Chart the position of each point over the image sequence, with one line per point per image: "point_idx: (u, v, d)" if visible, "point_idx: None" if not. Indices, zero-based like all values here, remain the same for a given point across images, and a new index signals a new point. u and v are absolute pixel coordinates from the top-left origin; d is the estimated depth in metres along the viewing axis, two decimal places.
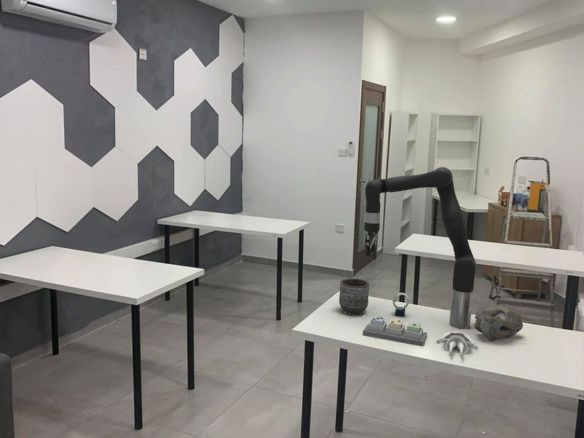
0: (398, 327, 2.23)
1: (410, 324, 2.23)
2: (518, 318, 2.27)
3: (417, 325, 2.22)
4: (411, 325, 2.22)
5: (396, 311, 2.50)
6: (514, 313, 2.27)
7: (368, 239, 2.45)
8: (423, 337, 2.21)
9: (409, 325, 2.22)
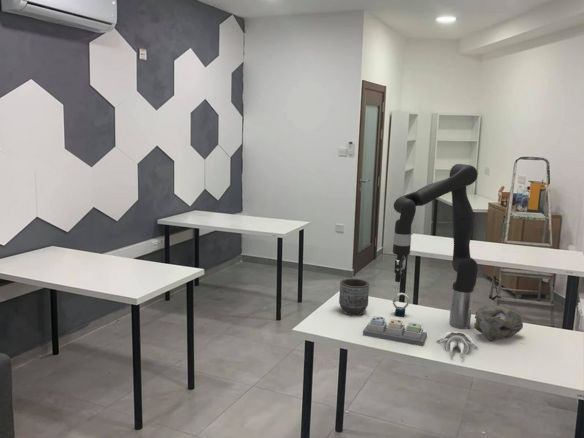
0: (398, 327, 2.23)
1: (410, 324, 2.23)
2: (517, 318, 2.27)
3: (417, 325, 2.22)
4: (411, 325, 2.22)
5: (396, 311, 2.50)
6: (514, 313, 2.27)
7: (398, 265, 2.22)
8: (423, 337, 2.21)
9: (409, 325, 2.22)
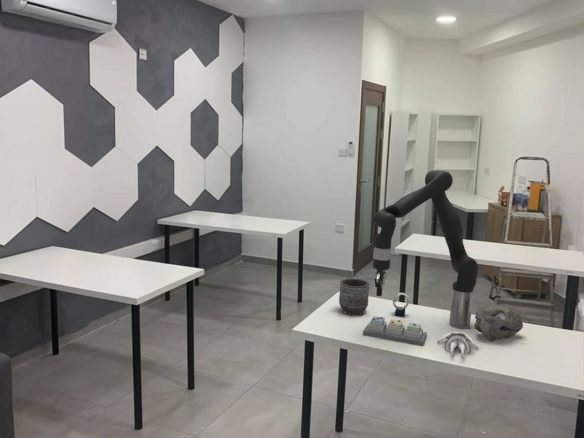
0: (398, 327, 2.23)
1: (410, 324, 2.23)
2: (518, 318, 2.27)
3: (417, 325, 2.22)
4: (411, 325, 2.22)
5: (396, 311, 2.50)
6: (514, 313, 2.27)
7: (378, 282, 2.21)
8: (423, 337, 2.21)
9: (409, 325, 2.22)
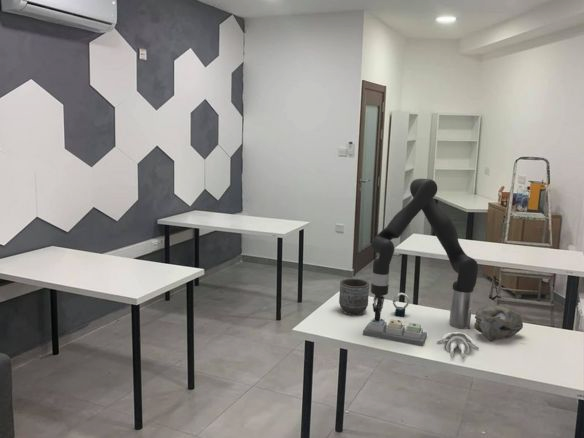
0: (398, 327, 2.23)
1: (410, 324, 2.23)
2: (517, 318, 2.27)
3: (417, 325, 2.22)
4: (411, 325, 2.22)
5: (396, 311, 2.50)
6: (514, 313, 2.27)
7: (376, 307, 2.23)
8: (423, 337, 2.21)
9: (409, 325, 2.22)
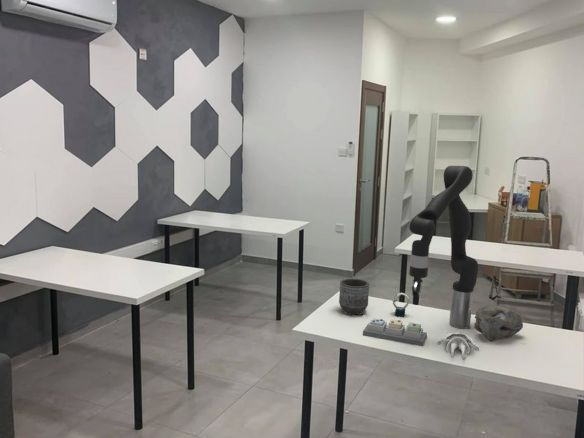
0: (398, 327, 2.23)
1: (410, 324, 2.23)
2: (518, 318, 2.27)
3: (417, 325, 2.22)
4: (411, 325, 2.22)
5: (396, 311, 2.50)
6: (514, 313, 2.27)
7: (415, 291, 2.15)
8: (423, 337, 2.21)
9: (409, 325, 2.22)
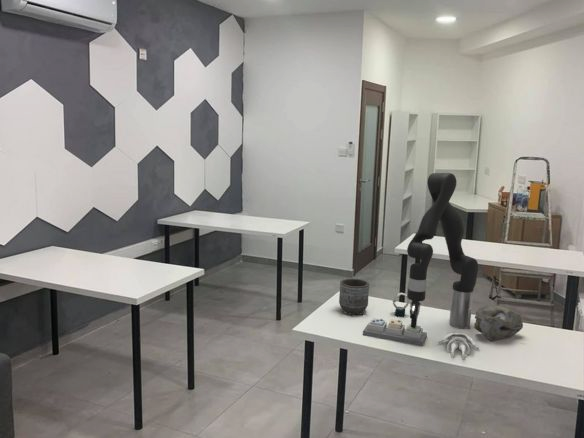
0: (398, 327, 2.23)
1: (410, 326, 2.24)
2: (518, 318, 2.27)
3: (417, 327, 2.23)
4: (411, 327, 2.22)
5: (396, 311, 2.50)
6: (514, 313, 2.27)
7: (413, 314, 2.17)
8: (423, 337, 2.21)
9: (409, 327, 2.22)
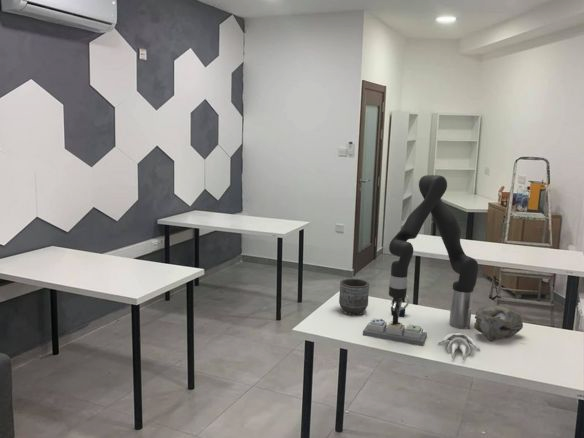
0: None
1: (410, 326, 2.24)
2: (517, 318, 2.27)
3: (417, 327, 2.23)
4: (411, 327, 2.22)
5: None
6: (514, 313, 2.27)
7: (394, 311, 2.20)
8: (423, 337, 2.21)
9: (409, 327, 2.22)
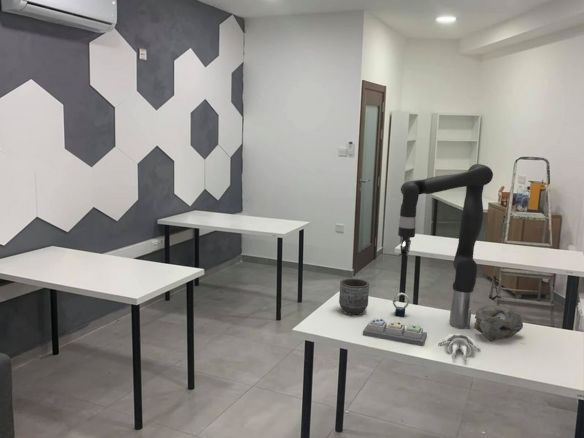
0: None
1: (410, 326, 2.24)
2: (518, 318, 2.27)
3: (417, 327, 2.23)
4: (411, 327, 2.22)
5: (396, 311, 2.50)
6: (514, 313, 2.27)
7: (404, 249, 2.31)
8: (423, 337, 2.21)
9: (409, 327, 2.22)
